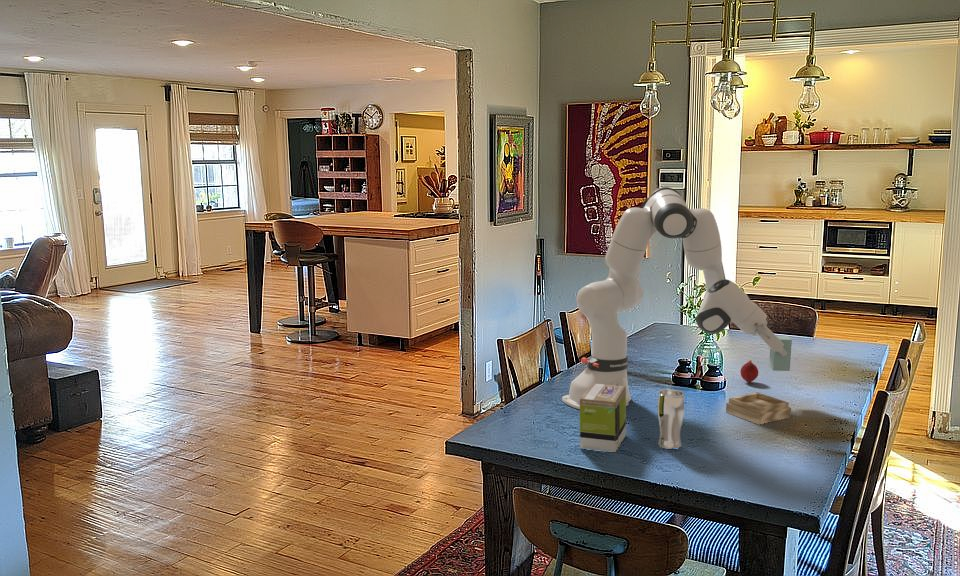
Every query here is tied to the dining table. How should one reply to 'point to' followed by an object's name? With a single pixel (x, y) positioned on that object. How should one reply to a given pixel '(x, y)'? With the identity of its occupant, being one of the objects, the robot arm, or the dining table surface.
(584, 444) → the tea box
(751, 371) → the onion
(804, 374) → the dining table surface
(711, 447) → the dining table surface
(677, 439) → the beer glass
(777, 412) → the tray
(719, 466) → the dining table surface
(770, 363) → the block
